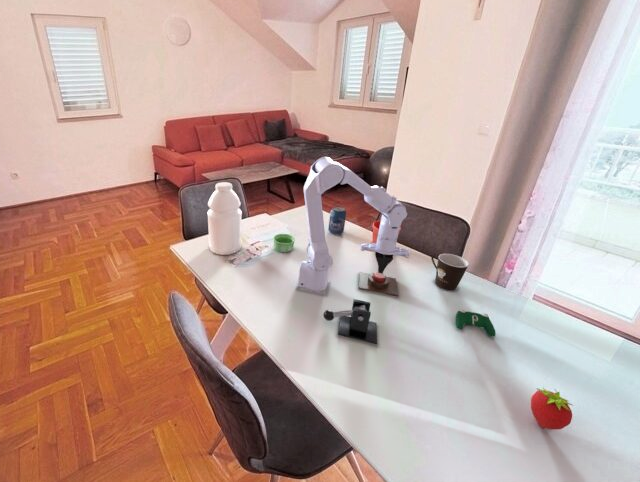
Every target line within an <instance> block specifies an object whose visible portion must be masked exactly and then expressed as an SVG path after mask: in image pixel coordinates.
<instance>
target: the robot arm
mask: <svg viewBox="0 0 640 482" xmlns="http://www.w3.org/2000/svg"><path fill="white" fill-rule="evenodd" d="M338 184H340V186H341V185H345V184H348V185H349V186H351V187H352V188H354V190H356V191H358V192H359V193H360V194H362V195H363V199H364V202H366V204H368V205H369V206H371V207H372V208H374V209H375V210H376V211H378V212H380V213H381V217H380V221H381V223H380V228H379V233H378V238H377V243H376V244H373V243H364V242H361V245H360V251H361V252H365V251H367V252H372V253H374V256H375V259H376V263H377V272H378V273H382V274H384V271H385V269H386V268H387V267H388V265H389V264H390V263H391V262H392V261H393V260H394V256H398V257H402V258H403V257H404V258H405V259H410V256H411V251H410V250H409V249H405V248H401V247H397V242H398V237H399V235H398V233H399V229H400V227H401V225H402V222H403V221H404V220H405V219H406V218H407V216H408V214H409V213H408V212H407V208H406V206H405V204H402V203H401V202H400V201H398V200H397V199H398V197H396V196H394V195H390V194H389V193H388V192H387V189H386V188H385V187H383V186H379V185H373V186H371V185H370V184H368V183H367V182H366V181H365V180H364V179H362V178H361V177H360V176H359V175H357V174H356V173H355V172H354V171H352V170H351V169H349V168H348V167H347V166H345V165H343V164H342V163H340V162H337V161H334V160H333V159H332V158H331V157H328V156H322V157H320V158H318V159H317V160H316V161H315V162H314V163H312V165H311V166H310V170H309V173H308V175H307V178H306V181H305V182H304V185H303V197H304V205H305V214H306V221H307V228H308V229H307V230H308V239H307V241H308V244H307V246H306V253H307V255H308V259H307V260H302V261H300V262H301V263H300V267H299V271H298V272H299V273H298V283H297V284H298V286H297V287H298V288H301V289H306V290H309V291H312V292H317V293H321V292H324V291H325V290H326V289H327V286H328V283H330V282H329V280H328V279H329V278H328V277H329V271H330V268H331V266H332V265H333V262H334V261H333V258H332V256H331V255H330V253H329V248H328V243H327V241H326V231H325V220H324V213H323V212H324V211H323V203H322V202H323V201H322V195H323V194H324V193H325V192H326V191H327V190H330V189H331V188H333V187H335V186H336V185H338ZM399 234H400V233H399Z"/></svg>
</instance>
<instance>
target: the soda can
mask: <svg viewBox="0 0 640 482" xmlns="http://www.w3.org/2000/svg"><path fill="white" fill-rule="evenodd" d="M346 218H347V211H346V208H345V207H344V206H340V205H335V206H333V207H332V208H331V210H330V212H329V219H328V232H329V233H330V234H331V235H334V236H340V235H342V234H343V233H344V231H345V225H346Z"/></svg>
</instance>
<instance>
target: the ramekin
mask: <svg viewBox="0 0 640 482" xmlns="http://www.w3.org/2000/svg"><path fill="white" fill-rule="evenodd" d="M272 241H273V247H274V249H275V250H276V251H278V252H282V253H288V252H291V251H292V250H293V249H294V245H295V242H296V238H295V237H294V236H293V235H291V234H289V233H278V234H275V235H274V236H273V237H272Z"/></svg>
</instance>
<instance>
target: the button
mask: <svg viewBox="0 0 640 482" xmlns="http://www.w3.org/2000/svg"><path fill="white" fill-rule="evenodd" d="M373 273H374V275H373V279H374V280H375V281H377V282H384V280H385V276H386V275H385V274H384V273H383V274H382V273H378V271H375V272H373Z"/></svg>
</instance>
